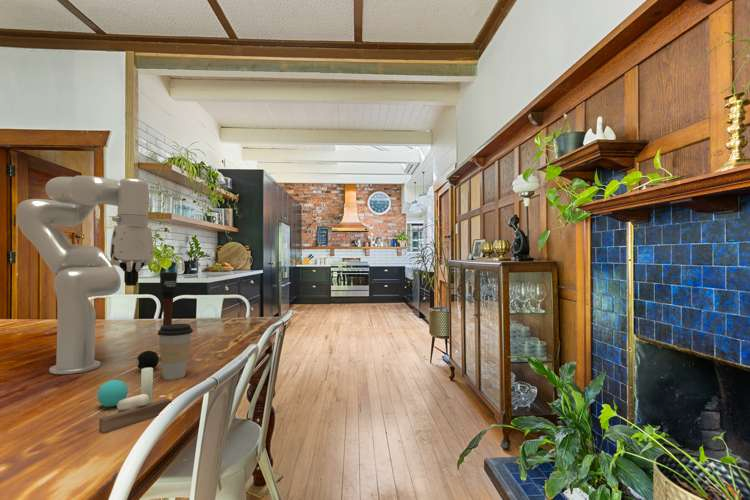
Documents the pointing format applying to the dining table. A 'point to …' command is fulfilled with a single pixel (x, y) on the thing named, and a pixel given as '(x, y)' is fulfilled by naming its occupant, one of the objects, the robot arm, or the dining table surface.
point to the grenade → (168, 294)
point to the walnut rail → (132, 415)
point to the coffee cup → (174, 349)
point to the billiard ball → (147, 360)
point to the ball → (112, 393)
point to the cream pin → (133, 402)
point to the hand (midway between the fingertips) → (130, 285)
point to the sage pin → (147, 382)
